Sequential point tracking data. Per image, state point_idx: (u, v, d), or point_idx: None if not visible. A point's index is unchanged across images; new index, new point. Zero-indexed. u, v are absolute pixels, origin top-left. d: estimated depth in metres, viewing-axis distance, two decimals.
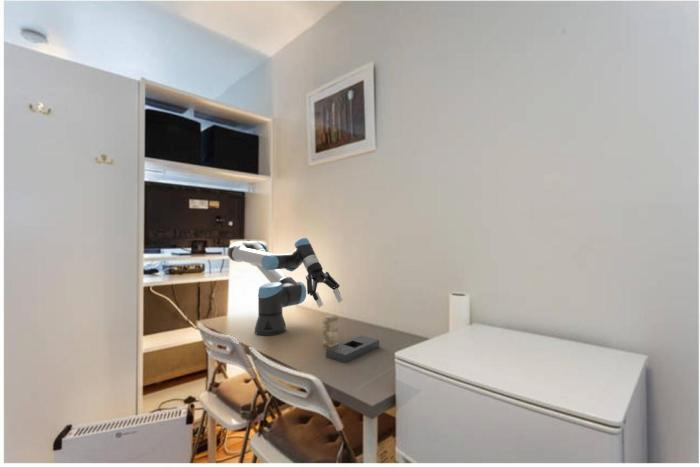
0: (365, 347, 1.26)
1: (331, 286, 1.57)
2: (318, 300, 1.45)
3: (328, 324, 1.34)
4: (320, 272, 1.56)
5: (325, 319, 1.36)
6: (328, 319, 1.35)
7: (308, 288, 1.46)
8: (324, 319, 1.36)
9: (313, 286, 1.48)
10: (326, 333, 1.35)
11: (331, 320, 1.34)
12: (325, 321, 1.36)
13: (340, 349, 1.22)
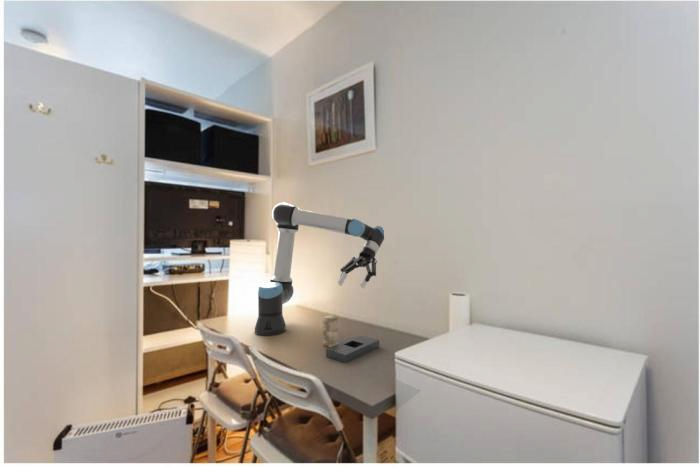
0: (365, 347, 1.26)
1: (348, 270, 1.56)
2: (365, 282, 1.44)
3: (328, 324, 1.34)
4: None
5: (325, 319, 1.36)
6: (328, 319, 1.35)
7: (374, 270, 1.47)
8: (324, 319, 1.36)
9: (369, 269, 1.49)
10: (326, 333, 1.35)
11: (331, 320, 1.34)
12: (325, 321, 1.36)
13: (340, 349, 1.22)
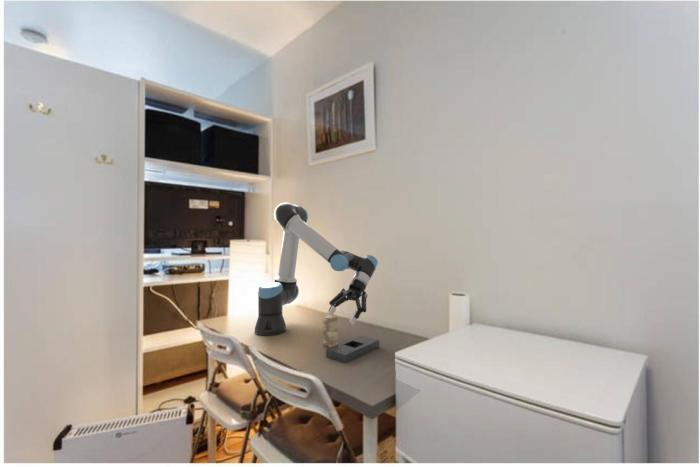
0: (365, 347, 1.26)
1: (338, 303, 1.48)
2: (354, 319, 1.36)
3: (328, 324, 1.34)
4: None
5: (325, 319, 1.36)
6: (328, 319, 1.35)
7: (365, 305, 1.39)
8: (324, 319, 1.36)
9: (359, 304, 1.41)
10: (326, 333, 1.35)
11: (331, 320, 1.34)
12: (325, 321, 1.36)
13: (340, 349, 1.22)
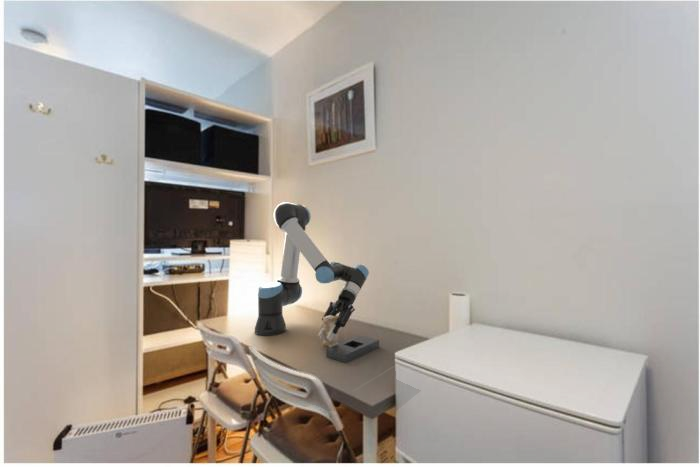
0: (365, 347, 1.26)
1: None
2: (332, 334, 1.34)
3: (328, 324, 1.34)
4: None
5: (325, 319, 1.36)
6: (328, 319, 1.35)
7: (345, 321, 1.35)
8: (324, 319, 1.36)
9: None
10: (326, 333, 1.35)
11: (331, 320, 1.34)
12: (325, 321, 1.36)
13: (340, 349, 1.22)
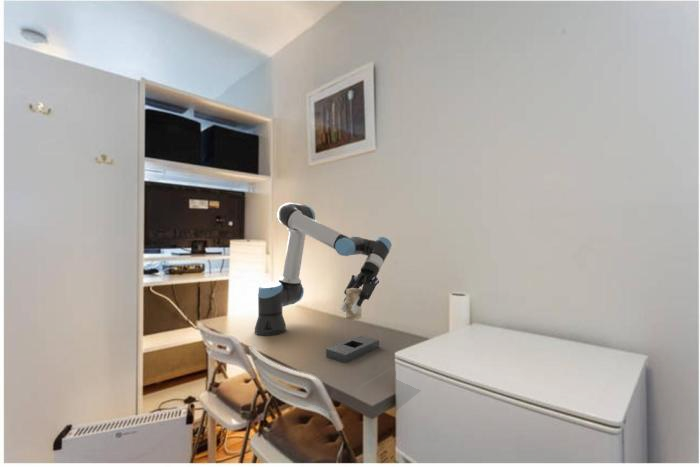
0: (365, 347, 1.26)
1: None
2: (357, 306, 1.26)
3: (352, 296, 1.26)
4: None
5: (348, 291, 1.28)
6: (352, 291, 1.26)
7: (369, 293, 1.27)
8: (347, 291, 1.28)
9: (365, 291, 1.30)
10: (350, 306, 1.27)
11: (355, 291, 1.26)
12: (348, 293, 1.28)
13: (340, 349, 1.22)
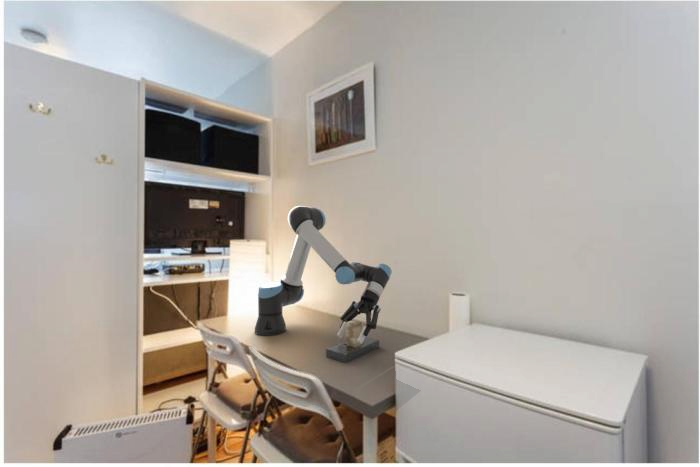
0: (365, 347, 1.26)
1: (350, 318, 1.34)
2: (363, 336, 1.24)
3: (352, 330, 1.26)
4: None
5: (348, 324, 1.27)
6: (352, 324, 1.26)
7: (375, 322, 1.26)
8: (347, 324, 1.28)
9: (370, 319, 1.29)
10: (350, 339, 1.27)
11: (355, 325, 1.26)
12: (348, 326, 1.27)
13: (340, 349, 1.22)
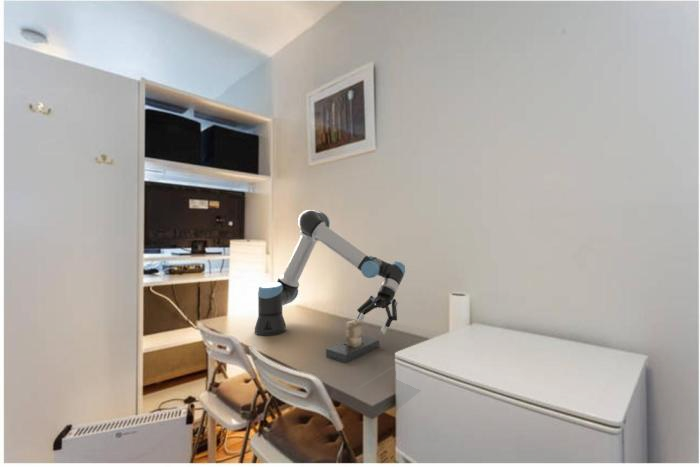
0: (365, 347, 1.26)
1: (366, 310, 1.45)
2: (385, 327, 1.34)
3: (352, 330, 1.26)
4: None
5: (348, 324, 1.27)
6: (352, 324, 1.26)
7: (395, 314, 1.36)
8: (347, 324, 1.28)
9: None
10: (350, 339, 1.27)
11: (355, 325, 1.26)
12: (348, 326, 1.27)
13: (340, 349, 1.22)
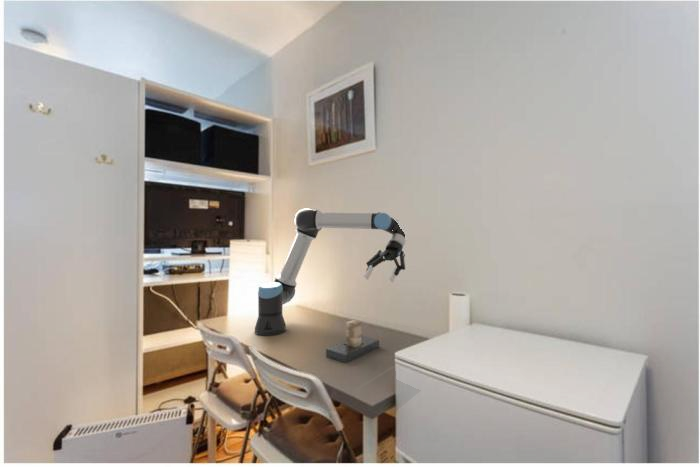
0: (365, 347, 1.26)
1: (375, 263, 1.51)
2: (394, 275, 1.40)
3: (352, 330, 1.26)
4: None
5: (348, 324, 1.27)
6: (352, 324, 1.26)
7: (403, 263, 1.42)
8: (347, 324, 1.28)
9: (398, 263, 1.44)
10: (350, 339, 1.27)
11: (355, 325, 1.26)
12: (348, 326, 1.27)
13: (340, 349, 1.22)
